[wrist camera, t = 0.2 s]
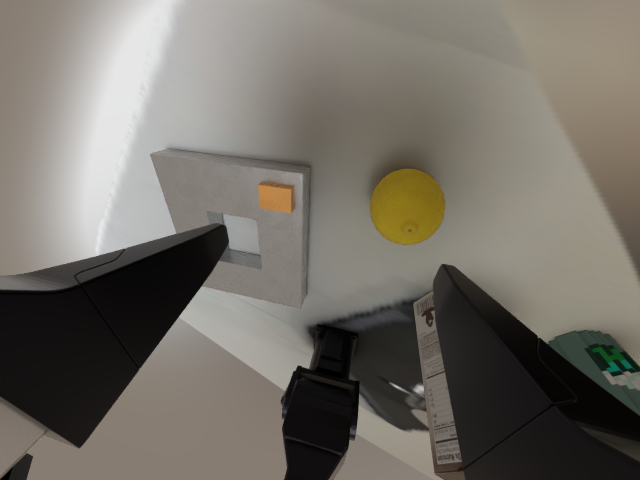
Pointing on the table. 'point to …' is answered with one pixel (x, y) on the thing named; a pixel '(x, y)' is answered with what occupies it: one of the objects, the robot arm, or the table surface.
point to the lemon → (407, 206)
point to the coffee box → (437, 394)
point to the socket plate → (245, 201)
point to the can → (602, 363)
